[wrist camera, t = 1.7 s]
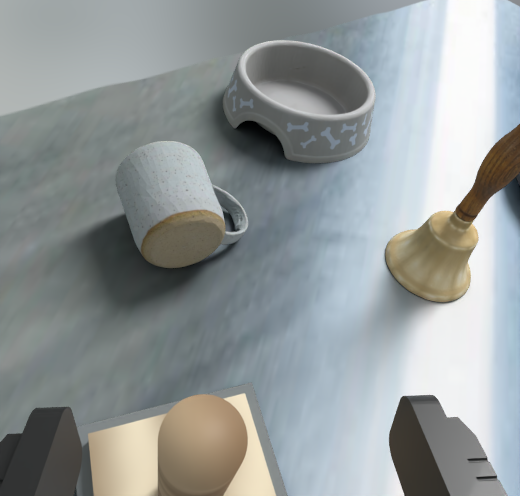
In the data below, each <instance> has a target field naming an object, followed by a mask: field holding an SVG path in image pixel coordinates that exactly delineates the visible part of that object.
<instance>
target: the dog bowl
mask: <svg viewBox="0 0 520 496" xmlns="http://www.w3.org/2000/svg"><path fill="white" fill-rule="evenodd" d="M374 103H375V89H374V86H373V84H372V82H371V80H370V79H369V77H368V76H367V75H366V73H365V72H364V71H363V70H362V69H361V68H359V67H358V66H357V65H356V64H354V63H353V62H352V61H350V60H349V59H347V58H345V57H343V56H342V55H340V54H338V53H336V52H333V51H331V50H328V49H326V48H323V47H320V46H317V45H313V44H309V43H304V42H297V41H284V40H280V41H269V42H264V43H260V44H257V45H255V46H252V47H251V48H249V49H248V50H246V51H245V52H244V53H243V54H242V55H241V57H240V59H239V61H238V63H237V66H236V68H235V71H234V73H233V76H232V78H231V81H230V83H229V86H228V87H227V89H226V92H225V94H224V97H223V109H224V113H225V115H226V117H227V119H228V121H229V123H230V124H231V126H232V127H233V128H237V126H238V125H239V124H240V123H242V122H244V121H247V120H251V121H256V122H257V123H258V124H259V125H260V126H261V127H263V128H264V129H266V130H267V131H269V132H271V133H272V134H274V135H276V136H277V137H278V139H279V140H280V142H281V144H282V146H283V150H284V154H285V157H286V158H287V159H288V160H292V161H297V162H305V163H329V162H336V161H341V160H344V159H347V158H350V157H352V156H354V155H356V154H357V153H359V152H360V151H361V150H362V149H363V148H364V147H365V146H366V144H367V142H368V140H369V136H370V127H371V121H372V115H373V109H374Z"/></svg>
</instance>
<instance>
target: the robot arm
mask: <svg viewBox="0 0 520 496" xmlns="http://www.w3.org/2000/svg"><path fill="white" fill-rule="evenodd" d="M389 446H390V452H391V456H392V460H393V463H394V466H395V468H396V471H397V474H398V477H399V480H400V483H401V486H402V489H403V492H404V495H405V496H507V494H506V492H505V490H504V488H503V486H502V484H501V482H500V481H499V480H497V475H496V473H495V471H494V469H493V467H492V465H491V464H490V462H488V461H487V456H486V454H485V452H484V450H483V448H482V447H481V445H480V443H479V441H478V439H477V437H476V436H475V434H474V433H473V432H472V431H471V430H470V429H469V428H468V427H467V426H466V425H465V424H464V423H463V422H462V421H461V420H460V419H459V418H458V417H451V418H447V417H446V415H445V413H444V411H443V409H442V407H441V405H440V403H439V401H438V399H437V398H436V397H435V396H433V395H420V396H403V397H402V398H401V399H400V402H399V405H398V408H397V411H396V414H395V417H394V421H393V424H392V427H391V430H390V434H389ZM81 463H82V444H81V440H80V437H79V434H78V430H77V427H76V423H75V420H74V417H73V413H72V410H71V408H70V407H51V408H35V409H34V410H33V411H32V413H31V414H30V416H29V418H28V421H27V423H26V426H25V428H24V431H23V433H22V434H7V435H6V437H5V438H4V439H3V440H2V441H1V442H0V496H74V492H75V488H76V484H77V481H78V477H79V473H80V469H81Z"/></svg>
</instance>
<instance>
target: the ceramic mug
mask: <svg viewBox="0 0 520 496" xmlns="http://www.w3.org/2000/svg"><path fill="white" fill-rule="evenodd" d="M116 187H117V191H118V194H119V196H120V199H121V202H122V205H123V208H124V211H125V214H126V217H127V220H128V222H129V225H130V228H131V232H132V235H133V238H134V241H135V243H136V246H137V247H138V249H139V251H140V252H141V254H142V255H143V257H144V258H145V259H146V260H147V261H148V262H149V263H151V264H153V265H156V266H159V267H164V268H180V267H185V266H188V265H191V264H194V263H197V262H199V261H201V260H203V259H205V258H206V257H208V256H209V255H210V254H212V253H213V252H214V251H215V250H216V249H217V248H218V246H219V245H220V244H222V245H227V244H232V243H235V242H237V241H238V240H239V239H240V238H241V237H242V236H243V234H244V233H245V231H246V229H247V226H248V219H247V215H246V213H245V211H244V209H243V207H242V206H241V205H240V203H239V202H238V201H237V200H236V199H235V198H234V197H233V196H232V195H230V194H229V193H227V192H226V191H224V190H222V189H220V188H219V187H217V186H214V185H212V184H211V181H210V179H209V176H208V173H207V171H206V168H205V165H204V163H203V160H202V158H201V157H200V155H199V154H198V153H197V152H196V151H195V150H194V149H193V148H191V147H190V146H188V145H185V144H183V143H180V142H175V141H158V142H154V143H149V144H147V145H144V146H142V147H139V148H138V149H136V150H134V151H133V152H131V153H130V154H129V155H128V156H127V157H126V158H125V159H124V160H123V161H122V163H121V164H120V166H119V168H118V170H117V173H116ZM220 205H221V206H222V207H223V208H225V209H226V210H227V211H228V212H229V213H230V214H231V216H232V219H233V222H234V225H235V230H236V232H225V221H224V216H223V211H222V209H221V206H220Z"/></svg>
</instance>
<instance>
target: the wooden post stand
mask: <svg viewBox="0 0 520 496" xmlns="http://www.w3.org/2000/svg"><path fill="white" fill-rule="evenodd" d="M88 439H89V450H90V460H91V471H92V481H93V491H94V496H276V494H275V490H274V487H273V484H272V480H271V477H270V474H269V471H268V467H267V464H266V461H265V457H264V454H263V451H262V447H261V444H260V441H259V438H258V434H257V431H256V428H255V424H254V421H253V418H252V414H251V411H250V408H249V405H248V401H247V398H246V395H245V393H243V394H239V395H236V396H232V397H228V398H224V399H222V398H220V397H217V396H214V395H207V394H202V395H194V396H191V397H188V398H186V399H183V400H182V401H180V402H179V403H177V404H176V405H175V406H173V407H172V409H171V410H170V411H169V412H168V413H166V414H162V415H158V416H155V417H151V418H147V419H143V420H139V421H135V422H131V423H127V424H124V425H120V426H116V427H112V428H108V429H104V430H100V431H97V432H93V433H89V434H88Z"/></svg>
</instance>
